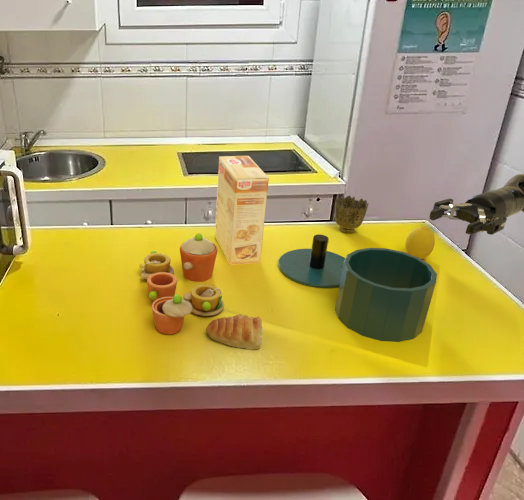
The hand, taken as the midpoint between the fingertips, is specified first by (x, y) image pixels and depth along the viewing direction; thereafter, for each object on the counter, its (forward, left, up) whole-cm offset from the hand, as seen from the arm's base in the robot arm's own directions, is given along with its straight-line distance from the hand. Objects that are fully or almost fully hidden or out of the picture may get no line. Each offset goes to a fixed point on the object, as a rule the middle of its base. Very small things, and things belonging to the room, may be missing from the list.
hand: (449, 222), depth 114 cm
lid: (+23, +23, -6) cm, 33 cm away
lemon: (+5, +8, -7) cm, 12 cm away
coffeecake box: (+41, +22, -7) cm, 47 cm away
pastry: (+29, +52, -7) cm, 60 cm away
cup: (+21, +1, -7) cm, 22 cm away
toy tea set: (+43, +45, -7) cm, 63 cm away
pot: (+9, +35, -6) cm, 37 cm away
